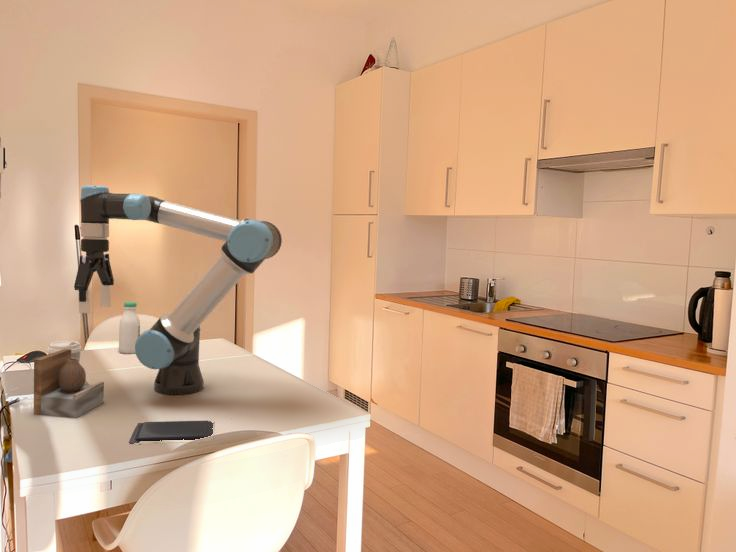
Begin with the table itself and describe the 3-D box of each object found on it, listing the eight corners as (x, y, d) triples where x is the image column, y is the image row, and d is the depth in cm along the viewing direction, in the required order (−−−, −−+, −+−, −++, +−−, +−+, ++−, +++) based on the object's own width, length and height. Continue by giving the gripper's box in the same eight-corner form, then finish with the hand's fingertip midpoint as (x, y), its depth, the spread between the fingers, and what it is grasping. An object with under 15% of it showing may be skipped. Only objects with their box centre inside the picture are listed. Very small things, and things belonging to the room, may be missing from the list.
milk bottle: (134, 354, 225) (135, 304, 223) (115, 353, 225) (116, 303, 223) (142, 350, 232) (143, 301, 231) (123, 349, 233) (124, 300, 231)
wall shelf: (103, 402, 166) (104, 351, 165) (76, 417, 152) (77, 362, 151) (63, 399, 167) (64, 348, 165) (33, 414, 153) (34, 359, 152)
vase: (66, 395, 155) (67, 363, 154) (52, 390, 158) (53, 359, 158) (90, 390, 161) (91, 359, 160) (76, 385, 164) (77, 355, 164)
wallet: (127, 439, 137) (138, 418, 151) (126, 447, 137) (138, 425, 152) (213, 437, 141) (216, 417, 156) (213, 445, 141) (215, 423, 156)
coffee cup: (66, 398, 168) (67, 348, 166) (38, 394, 169) (38, 345, 168) (88, 389, 177) (89, 342, 176) (61, 386, 179) (62, 339, 178)
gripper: (101, 237, 181) (101, 303, 183) (60, 238, 156) (60, 315, 158) (125, 238, 181) (125, 304, 183) (87, 239, 156) (87, 316, 158)
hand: (95, 309), depth 171 cm, fingers open, 13 cm apart
